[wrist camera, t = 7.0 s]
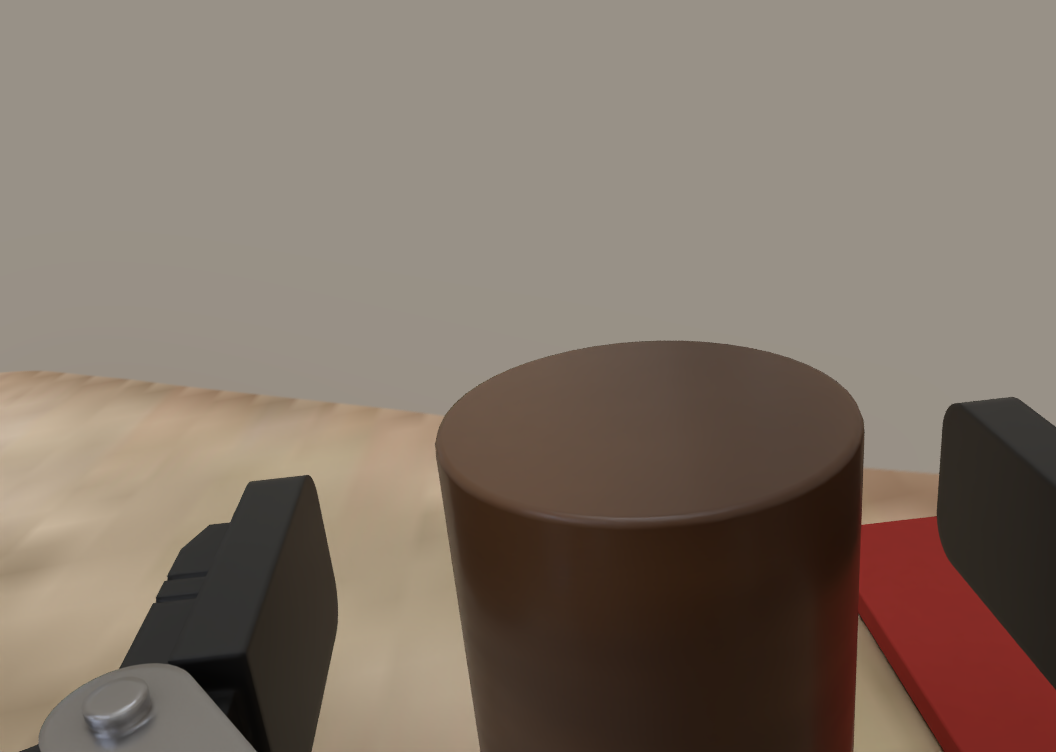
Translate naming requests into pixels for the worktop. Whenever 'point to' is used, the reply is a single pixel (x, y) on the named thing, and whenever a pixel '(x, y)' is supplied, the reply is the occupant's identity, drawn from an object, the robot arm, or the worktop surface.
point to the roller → (657, 551)
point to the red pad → (950, 645)
